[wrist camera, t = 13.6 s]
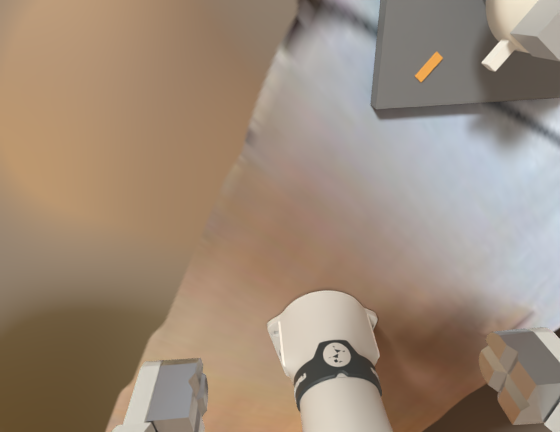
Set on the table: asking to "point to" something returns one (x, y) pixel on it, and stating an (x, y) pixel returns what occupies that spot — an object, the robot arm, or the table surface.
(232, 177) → the table surface
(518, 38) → the cap
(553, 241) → the table surface
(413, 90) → the lock base
